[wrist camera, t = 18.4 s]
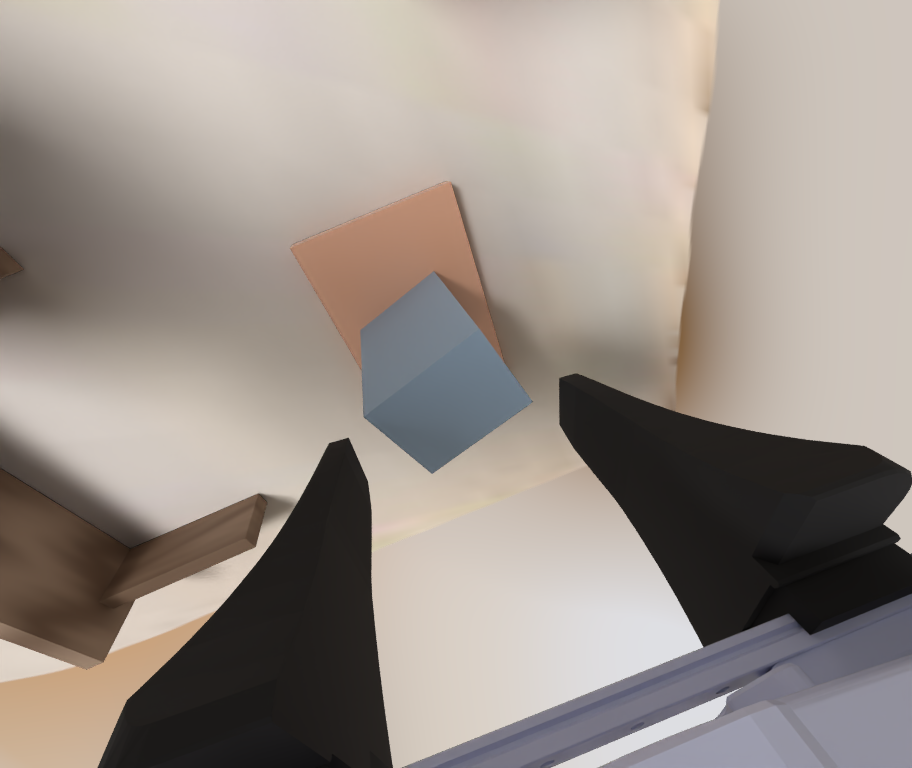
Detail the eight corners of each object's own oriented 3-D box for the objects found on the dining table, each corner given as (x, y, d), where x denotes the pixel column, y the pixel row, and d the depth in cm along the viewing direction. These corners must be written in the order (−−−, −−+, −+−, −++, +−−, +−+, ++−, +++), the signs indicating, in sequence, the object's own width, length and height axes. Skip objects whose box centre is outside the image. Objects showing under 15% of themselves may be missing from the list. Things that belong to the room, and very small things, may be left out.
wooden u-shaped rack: (-278, 321, 14) (-636, 408, 9) (-26, 221, 14) (-236, 249, 9) (140, 569, 25) (86, 669, 20) (275, 510, 25) (256, 595, 20)
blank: (360, 330, 19) (363, 417, 12) (433, 271, 18) (479, 328, 12) (407, 378, 21) (431, 473, 14) (474, 326, 20) (532, 401, 14)
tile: (293, 244, 17) (289, 248, 16) (446, 181, 17) (450, 181, 16) (395, 421, 24) (396, 430, 23) (504, 374, 24) (510, 381, 23)
